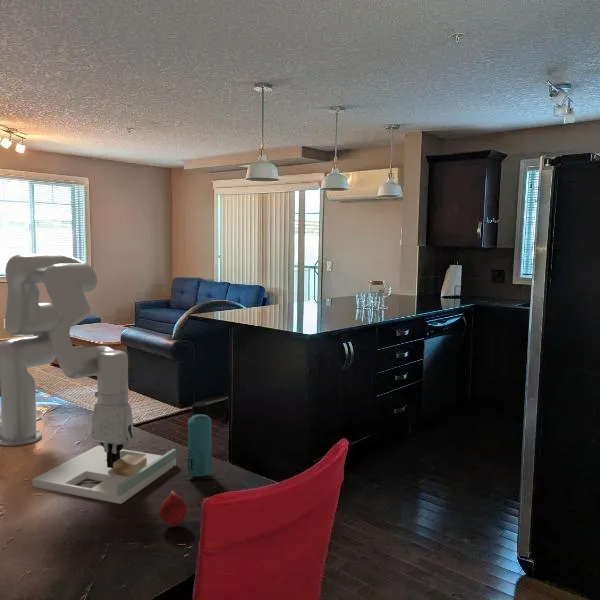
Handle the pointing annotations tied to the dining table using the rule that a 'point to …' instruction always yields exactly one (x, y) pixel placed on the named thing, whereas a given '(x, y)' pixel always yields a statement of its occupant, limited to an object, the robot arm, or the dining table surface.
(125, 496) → the board
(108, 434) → the robot arm
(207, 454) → the beverage bottle
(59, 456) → the dining table surface
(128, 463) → the block
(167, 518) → the onion
